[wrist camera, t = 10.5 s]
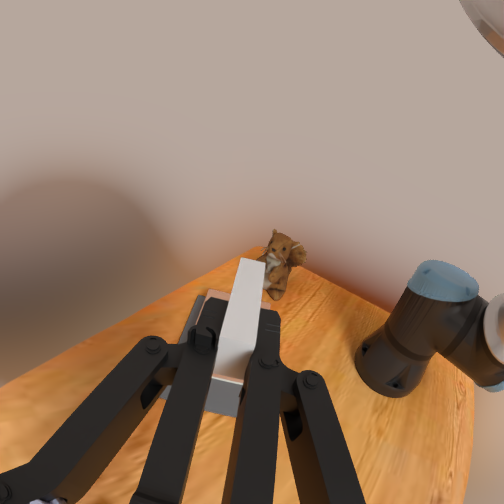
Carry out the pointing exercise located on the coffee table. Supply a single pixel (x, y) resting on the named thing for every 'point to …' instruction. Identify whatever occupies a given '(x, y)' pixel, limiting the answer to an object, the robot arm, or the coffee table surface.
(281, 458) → the coffee table surface
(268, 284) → the stuffed squirrel
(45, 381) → the coffee table surface
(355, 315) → the coffee table surface
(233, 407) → the mat
